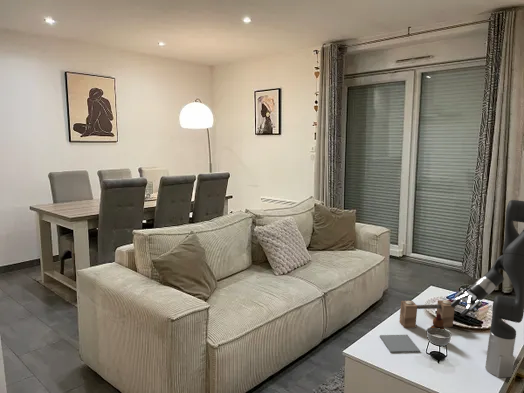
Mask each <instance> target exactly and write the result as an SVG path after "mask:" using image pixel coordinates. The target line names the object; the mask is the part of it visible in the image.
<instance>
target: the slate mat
mask: <svg viewBox="0 0 524 393" xmlns="http://www.w3.org/2000/svg"><path fill="white" fill-rule="evenodd" d="M379 338H380V339H381V341H382V342H383V344H384V346H385V347H386V348H387V350H388V351H389V353H390V354H401V353H405V354H406V353H421V350H420V348H419V347H418V346H417V345H416V343H415V342H414V341H413V340H412V339H411V337H410V336H409V335H408V334H379Z"/></svg>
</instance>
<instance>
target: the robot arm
mask: <svg viewBox="0 0 524 393" xmlns="http://www.w3.org/2000/svg"><path fill="white" fill-rule="evenodd" d="M514 222H518V223H524V200H517V199H511V200H509V201H508V202H507V205H506V210H505V220H504V241H503V246H502V255H499V256H498V257H497V259H495V261H494V263H493V265H492V266H491V268H490V269H489V270H488V271H487V272H486V273H485V274H484V275H483V276H482V277H480V278H478V280H476V281H475V282H474V283H473V284H472V285H470V286H469V288H468V291H467V290H466V289H465V288H463V289H461V290H460V291H458V292H457V293H456V294H455V295H454V298H455V299H454V300H453V301H452V302H451V306H452V307H453V308H454V307H455V308H456V306H458V305H459V304H460V303H466V304H467V305H466V307H465V308H464V309H462V311H460V315H461V316H462V317H465V316H466V315H468V314H469V313H475V312H477V311H478V310H479V309H480V308H481V307H482V306H483V305H484V304H483V302H482V301H483V300H485V298H486V297H487V296H489V295H490V294H491V293H492V292H493V291H494V290H495V289H496V287H498V286H499V285H500V284H501V283H503V282H504V280H505V278H504V276H503V275H502V274H501V270H502V271H504V272H505V273H506V275H507V277H508V278H509V280H510V282H511V285H512V287H513V289H514V293H515V298H512V297H507V296H503V295H495V297H494V298H493V301H492V311H491V312H492V313H491V323H490V329H489V334H488V335H489V336H488V344H487V350H486V358H485V359H486V360H485V369H486V371H487V372H488V373H490V375H493V376H495V377H497V378H512V377H513V370H514V364H515V356H514V350H515V343H516V337H517V330H516V329H515V328H514V327H513V326H511V324H508V323H506V322H505V321H508V322H513V323H518V324H519V323H521V322H522V320H523V318H524V229H523V230H522V231H521V232H520V233H518V231H517V229H516V227H515V224H514Z"/></svg>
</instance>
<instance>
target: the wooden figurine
mask: <svg viewBox="0 0 524 393" xmlns="http://www.w3.org/2000/svg"><path fill="white" fill-rule="evenodd" d="M436 314H437V316H436V315H435V317H434V318H433V320H432V325H431V326H430V327H429V329H430V328H440V329H444V330H445V331H446V329H445V328H446V327H443V324H444V321H443V319H441V315H440V314H439V313H438V312H437V311H436Z"/></svg>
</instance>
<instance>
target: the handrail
mask: <svg viewBox="0 0 524 393" xmlns="http://www.w3.org/2000/svg"><path fill="white" fill-rule="evenodd" d="M451 303H452V302H451V300H446V299H444V300H438V299H437V304H416V303H415V302H414V301H413V300H401V301H400V309H399V321H398V322H399V324H400V325H401V326H402V327H403V328H404V329H408V328H409V329H411V328H412V329H413V328H416V326H417V324H416V323H417V317H418V316H417V315H418V310H425V309H427V310H429V309H431V310H434V309H435V310H436V315H435V317H436V316H437V312H438V313H439V314H440V315H441V319H443V321H444V324H443V327H444V328H453V327H454V326H453V325H454V316H455V311H456V310H455V308H456V307H454V308H453V307H452V306H451Z"/></svg>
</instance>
